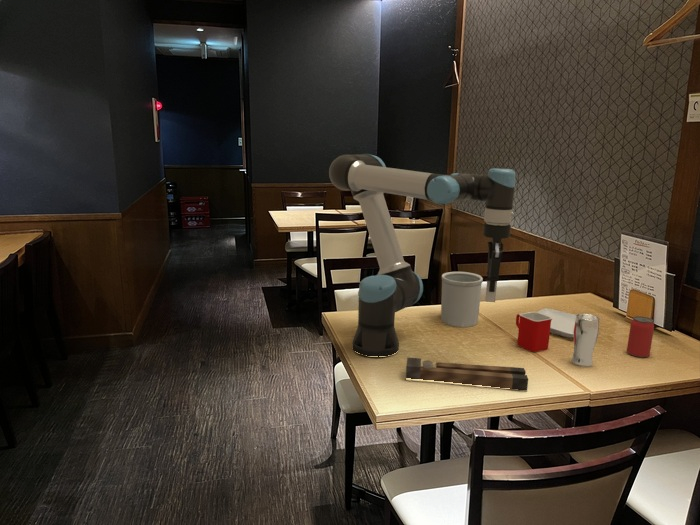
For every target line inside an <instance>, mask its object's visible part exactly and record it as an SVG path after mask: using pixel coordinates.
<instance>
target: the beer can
mask: <svg viewBox="0 0 700 525" xmlns="http://www.w3.org/2000/svg"><path fill="white" fill-rule="evenodd" d="M654 329H655V324H654V320H653V319H652V318H650V317H647V316H641V315H640V316H639V315H637V316H634V317H632V320H631V322H630V326H629V333H628V340H627V346H626V351H627V353H628V354H629V355H631V356H633V357H637V358H648V357H649V356H650V355H651V351H652V350H651V349H652V343H653V336H654Z"/></svg>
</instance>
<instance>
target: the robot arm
mask: <svg viewBox="0 0 700 525" xmlns="http://www.w3.org/2000/svg"><path fill="white" fill-rule="evenodd" d="M328 176H329V179H330V182H331V183H332V185H333V186H334V187H335V188H337V190H340V191H351V195H352V198H353V200H355V201H357V202H358V203H359V206H360V209H361V212H362V215H363V218H364V223H365V225H366V228H367V230H368V234H369V238H370V241H371V244H372V247H373V250H374V254H375V257H376V261H377V263H378V266H379V270H378V272H377V274H376V275H370V276H366V277H364V278H363V279H362V280H361V281H360V282H359V285H358V286H359V288H358V292H357V294H358V307H357V308H358V310H357V312H358V314H357V315H358V317H357V318H358V320H357V327H356V331H355V334H354V336H353V338H352V341H351V342H352V345H351V346H352V347H351V348H353V349H352V351H353V350H354V351H356V352H358V353H360V354H363V355H367V356H378V357H379V356H388V355H392V354H394V353H396V352H397V351H398V350H400V341H399V338H398V336H397V332H396V331H397V330H396V328H395V319H396V318H395V316H396V315H395V313H397V312H399V311H401V310H404V309H406V308H410V307H412V306H413V305H414V304H417V302H419V300H420V299H421V297H422V295H423V292H424V284H423V280H422V278H421V277H420V275H419V274H418V273H416V272H415V271H413V270H412V266H411V264H410V263H408V262H406V261H405V260H404V259H405V258H404V256H403V252H402V250H401V246H400V244H399V241H398V237H397V234H396V231H395V227H394V225H393V222H392V219H391V218H392V217H391V215H390V212H389V209H388V206H387V202H386V199H385V195H384V194H391V195H397V196H402V197H403V196H404V197H408V198H409V197H410V198H415V199H422V200H429V201H432V202H433V203H435V204H438V205H449V204H451V203H457V202H462V201H477V202H478V201H481V202H485V208H484V217H483V221H484V222H485V223H484V224H483V229H482V230H483V233H482V235H483V236H484V237H485V238H490V241H488V242H487V247H488V248H487V249H488V250H487V256H488V257H487V271H486V275H487V276H486V278H485V281H486V288H485V290H486V291H485V298H484V300H485V302H487V303H496V297H497V288H498V287H497V285H498V284H497V283H498V282H499V278H500V277H499V276H500V268H501V260H502V255H503V250H504V244H503V242H502V239H508V238H510V236H511V228H512V226H511V224H510V223H512V217H513V216H515V213H514V212H513V207H514V197H515V190H516V189H515V188H516V172H515V170H514V169H511V168H490V169H489V170H488V172H487V174H476V173H475V174H474V173H464V172H457V173H455V172H454V173H451V174H440V173H430V172H424V171H418V170H417V171H415V170H411V169H410V170H408V169H402V168H401V169H400V168H393V167H387V166H386V164H385V162H384V161H383V160H382V158H380V157H379V156H376V155H373V154H370V153H362V154H342V155H339V156H338V157H336V158H335V159H334V160H333V161H332V162H331V164H330V166H329V170H328ZM354 351H353V352H354ZM356 352H355V353H356ZM398 352H399V351H398ZM398 352H397V353H398ZM397 353H396V354H397ZM392 356H393V355H392Z"/></svg>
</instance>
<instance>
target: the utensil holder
mask: <svg viewBox="0 0 700 525" xmlns="http://www.w3.org/2000/svg"><path fill="white" fill-rule="evenodd" d="M483 279H484V278H483V277H482V276H481V275H480V274H478V273H473V272H467V271H450V272H444V273H442V274H441V280H442V281H441V302H440V303H441V304H440V306H441V310H440V312H441V313H440V316H441V317H440V318H441V322H443V323H444V324H445V325H448V326H452V327H456V328H457V327H458V328H470V327H474V326H476V325H477V324H478V323H479V315H480V305H481V294H482V284H483Z"/></svg>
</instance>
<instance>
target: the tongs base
mask: <svg viewBox="0 0 700 525" xmlns="http://www.w3.org/2000/svg"><path fill="white" fill-rule="evenodd" d="M406 378H411V379H423V380H434V381H444V382H453V383H462V384H472V385H482V386H491V387H500V388H510V389H518V390H517V391H520V390H527V391H528V388H529V387H528V384H529V378H528V375H527V374H525V375H520V374H507V373H495V372H483V371H471V370H459V369H447V368H436V367H434V362H433V361H432V360H423V361H422V358H419V357H417V358H416V357H407V359H406V367H405V379H406ZM510 389H509V390H510Z"/></svg>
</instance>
